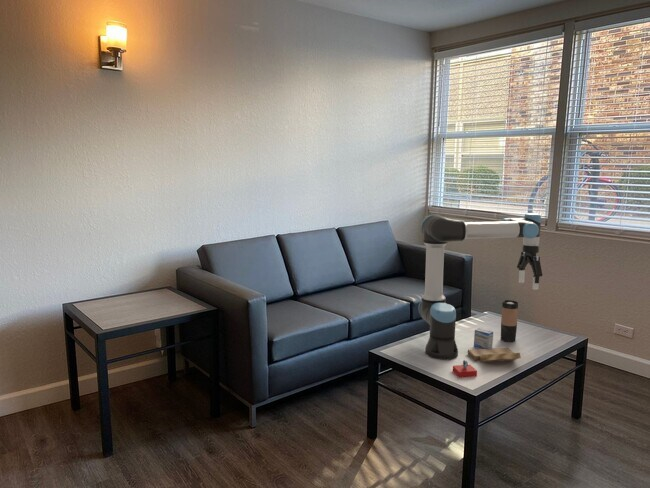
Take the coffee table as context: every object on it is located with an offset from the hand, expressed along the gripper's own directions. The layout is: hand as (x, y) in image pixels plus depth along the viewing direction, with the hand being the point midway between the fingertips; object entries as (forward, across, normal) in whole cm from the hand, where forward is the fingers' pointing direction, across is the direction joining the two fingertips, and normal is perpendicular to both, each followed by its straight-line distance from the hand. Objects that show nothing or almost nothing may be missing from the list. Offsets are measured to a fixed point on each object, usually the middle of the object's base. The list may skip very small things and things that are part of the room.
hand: (528, 286), depth 257 cm
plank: (+26, -29, +27) cm, 47 cm away
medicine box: (+28, -8, +26) cm, 39 cm away
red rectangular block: (+28, -36, +47) cm, 66 cm away
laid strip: (+28, -20, +27) cm, 44 cm away
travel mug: (+28, 0, +9) cm, 30 cm away
